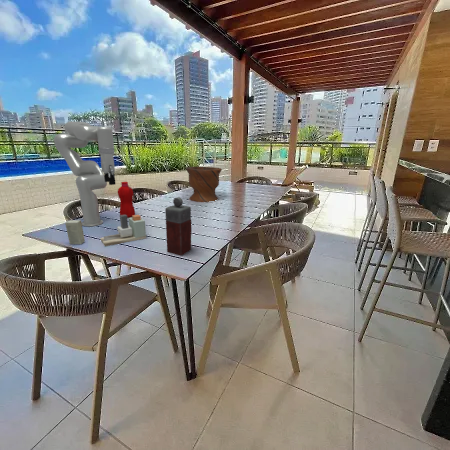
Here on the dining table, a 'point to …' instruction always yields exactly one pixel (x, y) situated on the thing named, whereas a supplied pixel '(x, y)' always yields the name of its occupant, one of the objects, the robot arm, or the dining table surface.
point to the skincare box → (75, 231)
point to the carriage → (124, 227)
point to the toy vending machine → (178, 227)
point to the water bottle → (126, 200)
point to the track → (118, 239)
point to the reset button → (136, 217)
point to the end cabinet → (137, 227)
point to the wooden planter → (203, 183)
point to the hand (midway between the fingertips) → (110, 183)
